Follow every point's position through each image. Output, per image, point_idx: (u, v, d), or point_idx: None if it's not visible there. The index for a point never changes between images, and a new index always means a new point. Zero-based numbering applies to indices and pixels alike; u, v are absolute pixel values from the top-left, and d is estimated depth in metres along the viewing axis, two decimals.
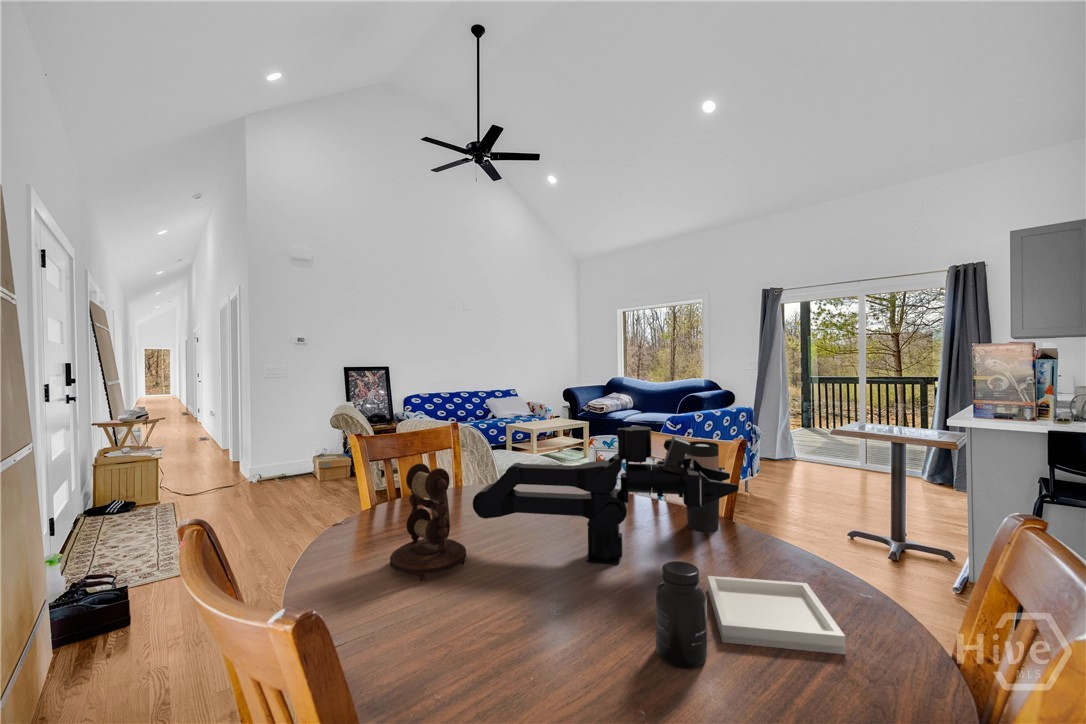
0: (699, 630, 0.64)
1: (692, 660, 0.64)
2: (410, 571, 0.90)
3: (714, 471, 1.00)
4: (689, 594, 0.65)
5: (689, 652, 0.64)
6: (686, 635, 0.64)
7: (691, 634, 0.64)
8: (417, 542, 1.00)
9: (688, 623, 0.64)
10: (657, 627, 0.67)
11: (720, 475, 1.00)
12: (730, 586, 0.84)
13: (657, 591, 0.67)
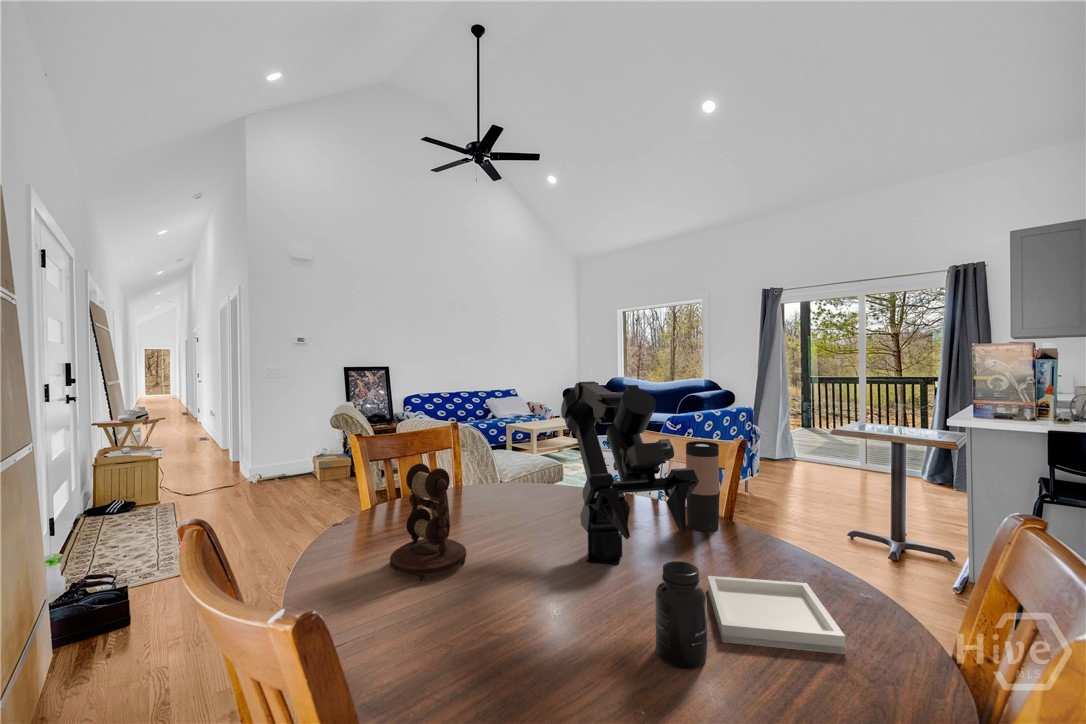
0: (699, 630, 0.64)
1: (692, 660, 0.64)
2: (410, 571, 0.90)
3: (678, 512, 0.78)
4: (689, 594, 0.65)
5: (689, 652, 0.64)
6: (686, 635, 0.64)
7: (691, 634, 0.64)
8: (417, 542, 1.00)
9: (688, 623, 0.64)
10: (657, 627, 0.67)
11: (678, 521, 0.77)
12: (730, 586, 0.84)
13: (657, 591, 0.67)
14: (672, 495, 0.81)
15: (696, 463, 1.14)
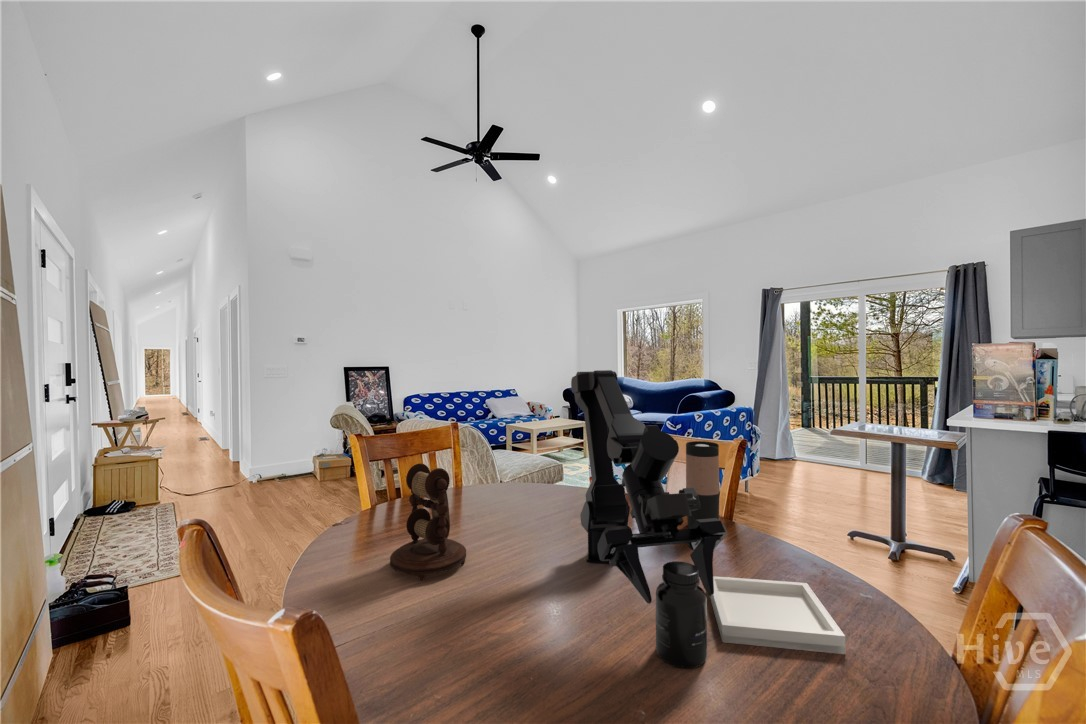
0: (699, 630, 0.64)
1: (692, 660, 0.64)
2: (410, 571, 0.90)
3: (705, 571, 0.69)
4: (689, 594, 0.65)
5: (689, 652, 0.64)
6: (686, 635, 0.64)
7: (691, 634, 0.64)
8: (417, 542, 1.00)
9: (688, 623, 0.64)
10: (657, 627, 0.67)
11: (705, 581, 0.69)
12: (730, 586, 0.84)
13: (657, 591, 0.67)
14: (697, 550, 0.73)
15: (696, 463, 1.14)
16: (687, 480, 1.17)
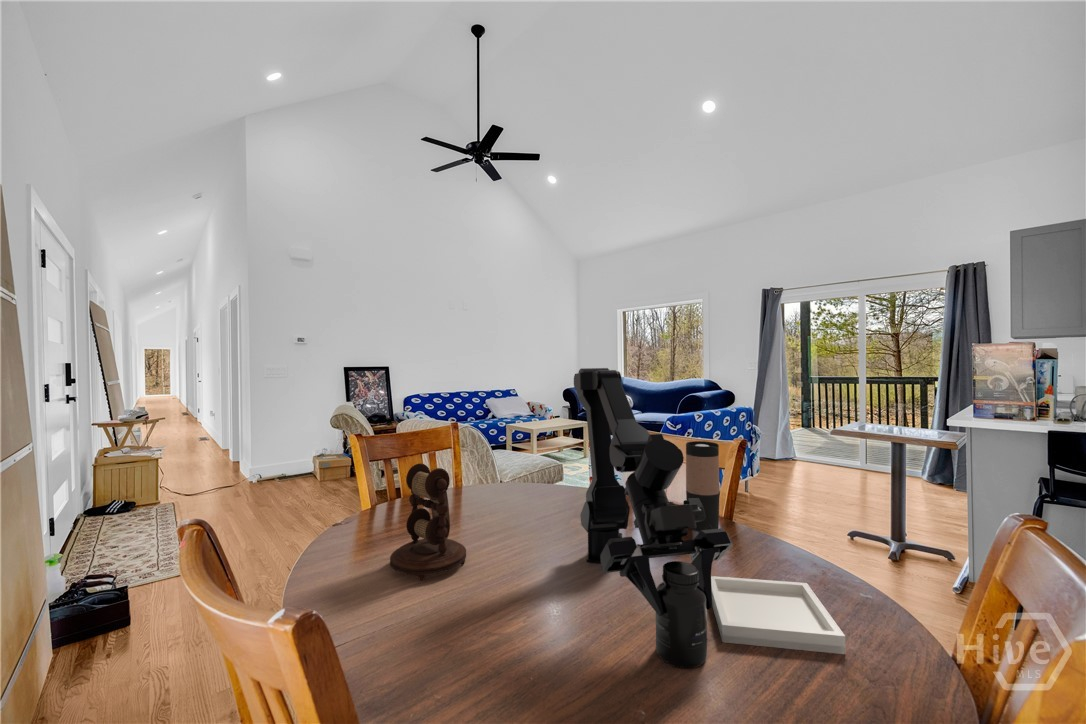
0: (699, 630, 0.64)
1: (692, 660, 0.64)
2: (410, 571, 0.90)
3: (703, 584, 0.68)
4: (689, 594, 0.65)
5: (689, 652, 0.64)
6: (686, 635, 0.64)
7: (691, 634, 0.64)
8: (417, 542, 1.00)
9: (688, 623, 0.64)
10: (657, 627, 0.67)
11: None
12: (730, 586, 0.84)
13: None
14: (695, 562, 0.71)
15: (696, 463, 1.14)
16: (687, 480, 1.17)
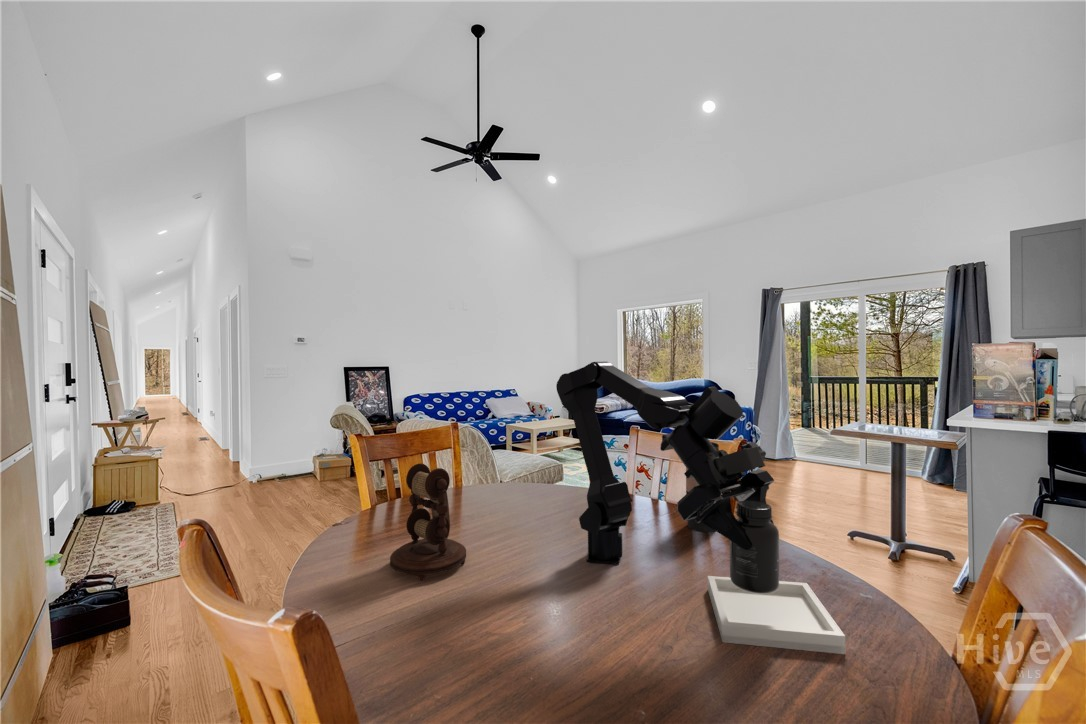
0: (778, 557, 0.71)
1: (775, 584, 0.71)
2: (410, 571, 0.90)
3: None
4: (769, 526, 0.71)
5: (773, 577, 0.70)
6: (772, 562, 0.70)
7: (775, 561, 0.71)
8: (417, 542, 1.00)
9: (773, 551, 0.70)
10: (740, 562, 0.72)
11: None
12: (730, 586, 0.84)
13: None
14: (748, 500, 0.78)
15: None
16: (687, 480, 1.17)
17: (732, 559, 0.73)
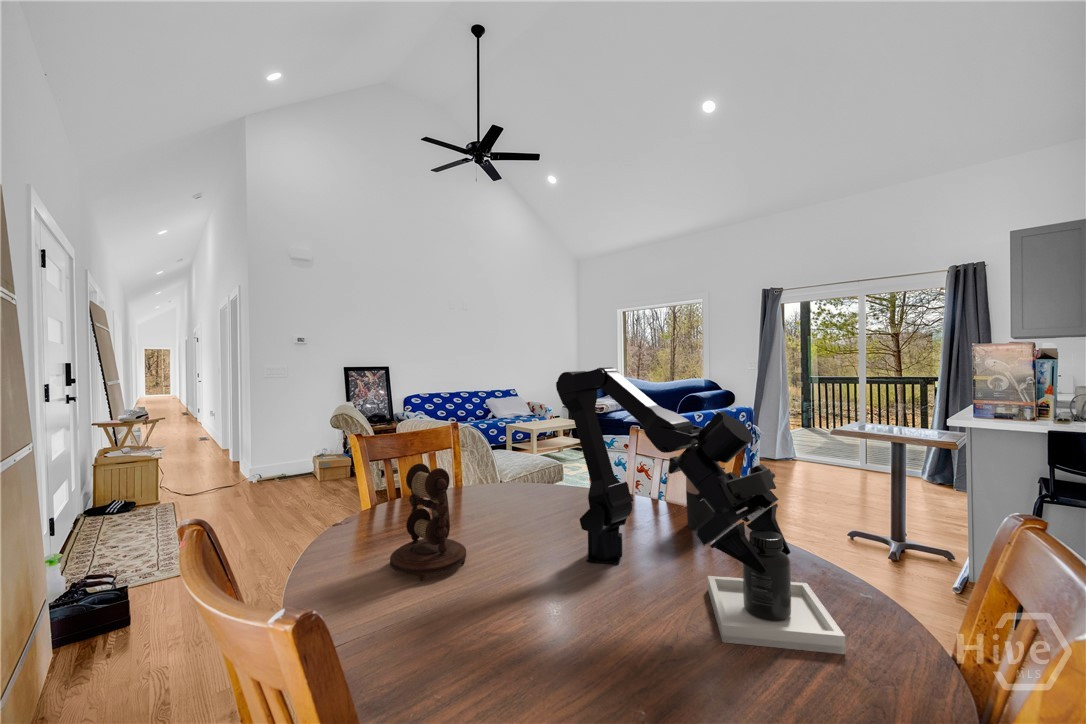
0: (790, 584, 0.75)
1: (789, 611, 0.74)
2: (410, 571, 0.90)
3: None
4: (782, 555, 0.75)
5: (787, 604, 0.73)
6: (786, 590, 0.73)
7: (788, 589, 0.74)
8: (417, 542, 1.00)
9: (786, 580, 0.74)
10: (756, 592, 0.74)
11: None
12: (730, 586, 0.84)
13: None
14: (759, 519, 0.82)
15: None
16: (687, 480, 1.17)
17: (747, 588, 0.76)
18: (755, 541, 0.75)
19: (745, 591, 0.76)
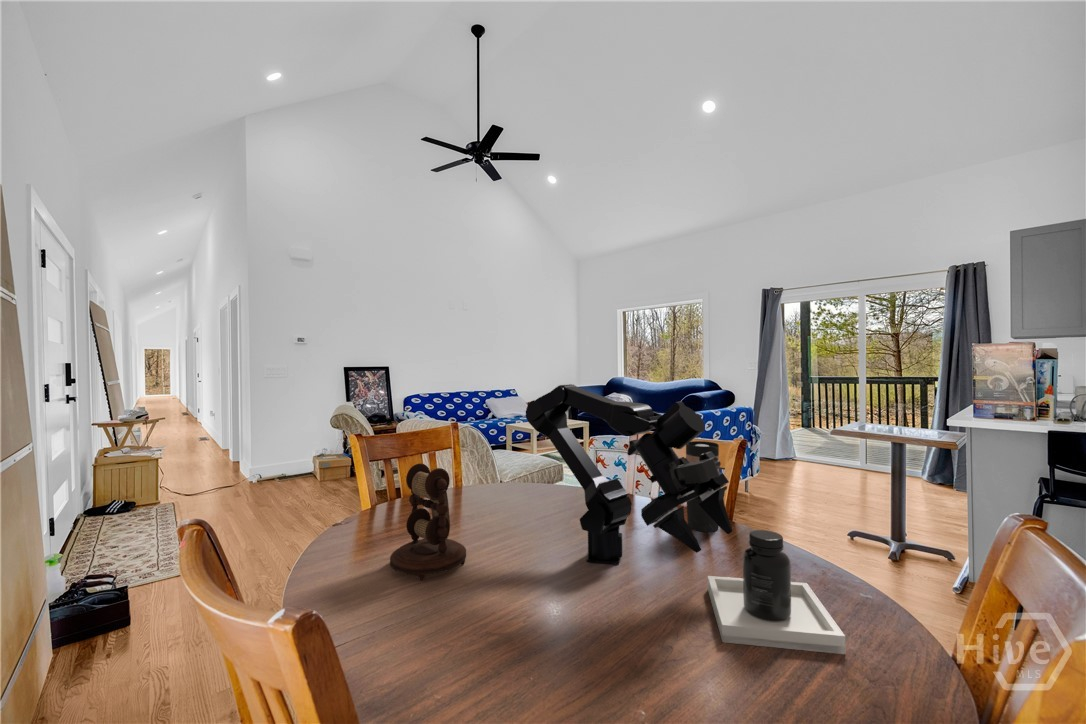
0: (790, 584, 0.75)
1: (789, 611, 0.74)
2: (410, 571, 0.90)
3: (723, 515, 0.86)
4: (782, 555, 0.75)
5: (787, 605, 0.73)
6: (786, 590, 0.73)
7: (788, 589, 0.74)
8: (417, 542, 1.00)
9: (787, 580, 0.74)
10: (756, 592, 0.74)
11: (723, 523, 0.86)
12: (730, 586, 0.84)
13: (752, 560, 0.75)
14: (708, 499, 0.89)
15: None
16: None
17: (747, 588, 0.76)
18: (755, 541, 0.75)
19: (745, 591, 0.76)
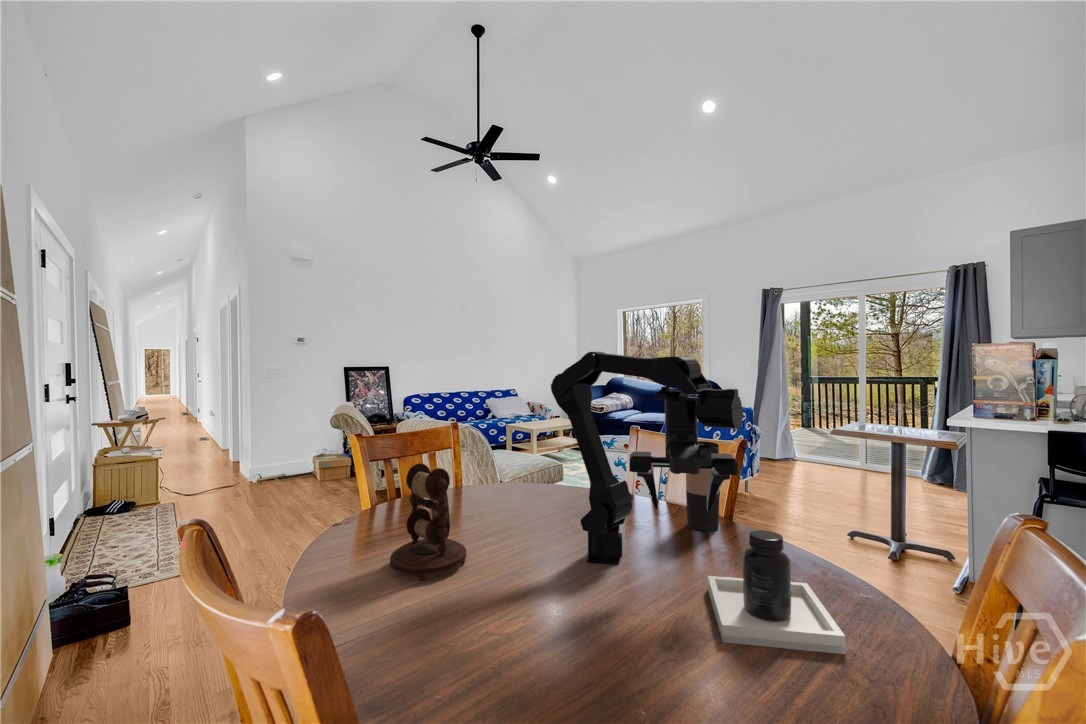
0: (790, 584, 0.75)
1: (789, 611, 0.74)
2: (410, 571, 0.90)
3: (709, 496, 0.88)
4: (782, 555, 0.75)
5: (787, 605, 0.73)
6: (786, 590, 0.73)
7: (788, 589, 0.74)
8: (417, 542, 1.00)
9: (787, 580, 0.74)
10: (756, 592, 0.74)
11: (707, 500, 0.88)
12: (730, 586, 0.84)
13: (752, 560, 0.75)
14: (710, 475, 0.88)
15: None
16: (687, 480, 1.17)
17: (747, 589, 0.76)
18: (755, 541, 0.75)
19: (745, 591, 0.76)
